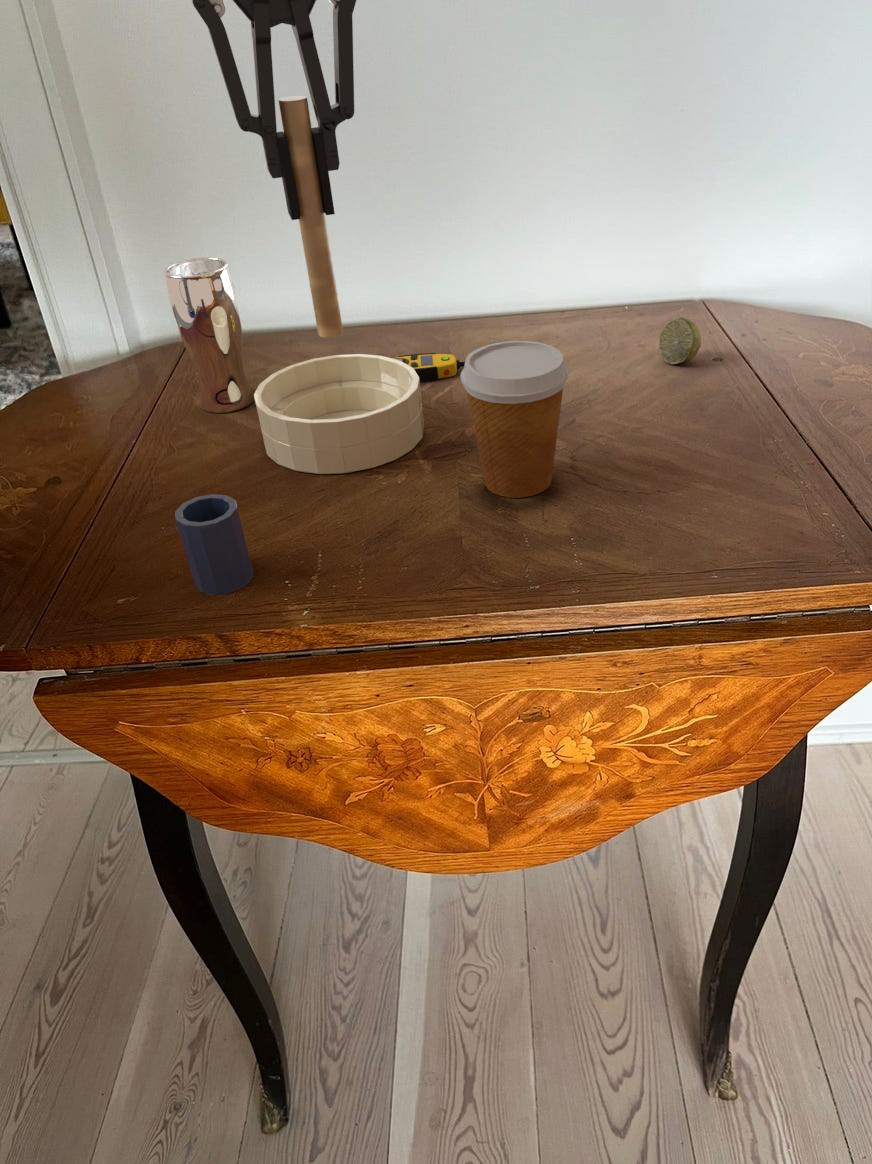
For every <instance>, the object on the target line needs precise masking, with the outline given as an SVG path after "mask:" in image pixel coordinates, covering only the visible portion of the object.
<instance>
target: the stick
mask: <svg viewBox="0 0 872 1164" xmlns="http://www.w3.org/2000/svg"><path fill="white" fill-rule="evenodd" d="M277 101H278V106H279V112H280V118H281V124H282V130H283V133H284V135H286V137H287V142H288V148H289V154H290V160H291V166H292V172H293V178H294V184H295V190H296V196H297V201H298V207H299V213H300V219H298V224H299V229H300V235H301V241H302V242H301V243H302V247H303V253H304V259H305V265H306V271H307V277H308V283H309V288H310V295H311V300H312V306H313V312H314V317H315V323H316V329H317V335H318V336H319V337H320V338H324V339H325V338H326V339H331V338H336V337H339V336H342V335H343V333H344V328H343V321H342V316H341V315H342V314H341V309H340V303H339V297H338V288H337V283H336V282H337V281H336V275H335V270H334V264H333V263H334V262H333V257H332V251H331V250H332V249H331V244H330V236H329V230H328V223H327V218H326V217H327V216H326V214H325V211H324V205H323V198H322V192H321V186H320V179H319V173H318V166H317V160H316V153H315V147H314V140H313V134H312V128H313V127H312V121H311V113H310V108H309V101H308V97H307V96H306V95H291V96H285V97H281V98H279V99H278V100H277Z"/></svg>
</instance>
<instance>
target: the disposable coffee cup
mask: <svg viewBox="0 0 872 1164" xmlns="http://www.w3.org/2000/svg"><path fill="white" fill-rule="evenodd" d="M464 362H465V365H464V367H463V369H462V370H461V372H460V382H461V384H462V385H463V387H464V390H465V392H467V398H468V403H469V409H470V412H471V418H472V423H473V427H474V433H475V438H476V443H477V447H478V453H479V458H480V463H481V468H482V474H483V479H484V485H485V486H486V488H487V489H488V491H490V492H491V493H492V494H495V495H497V496H501V497H505V498H515V499H516V498H528V497H532V496H535V495H538V494H541V493H542V492H544V491H546V490H547V489H548V488H550V486H551V484H552V480H553V479H552V478H553V470H554V462H555V453H556V447H557V440H558V439H557V438H558V430H559V424H560V423H559V422H560V416H561V407H562V402H563V401H562V400H563V392H564V391H563V390H564V388H565V386H566V383H567V381H568V379H569V374H570V370H569V367H568V366H567V364H566V362H565V358H564V355H563V353H562V352H561V351H560V349H558V348H556V347H555V346H553V345H550V344H547V343H544V342H538V341H531V340H507V341H506V340H505V341H500V342H495V343H491V344H488V345H484V346H483V345H482V346H481V347H478V348H476V349H475V350H473V351H471V352H470V353H468V355H467V356H466V358H465V360H464Z"/></svg>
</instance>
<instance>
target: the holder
mask: <svg viewBox="0 0 872 1164" xmlns="http://www.w3.org/2000/svg"><path fill="white" fill-rule="evenodd" d="M174 515H175V516H174V518H175V523H176V526H177V529H178V533H179V536H180V539H181V542H182V546H183V549H184V553H185V556H186V559H187V562H188V567H189V570H190V573H191V576H192V580H193V583H194V586H195V588H196V589H197V590H199V591H200V592H201V593H204V594H207V595H224V594H230V593H233V592H236V591H238V590H241V589H242V588H244V587H246V586H247V585H248V584H249V583H250V582H251V581H252V579H253V577H254V575H255V574H254V567H253V564H252V559H251V556H250V551H249V548H248V543H247V540H246V536H245V531H244V526H243V524H242V520H241V515H240V511H239V507H238V503H237V500H236V499H235V498H232V497H230V496H229V495H226V494H216V493H211V494H206V495H201V496H200V495H199V496H196V497H193V498H191V499H190V500H187V501H184V502H183V503H181V505H180V506H179V507H178V508H177V509H176V510H175V512H174Z"/></svg>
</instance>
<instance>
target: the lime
mask: <svg viewBox="0 0 872 1164" xmlns="http://www.w3.org/2000/svg"><path fill="white" fill-rule="evenodd" d="M658 340H659V341H658V342H659V343H658V350H659V354H660V356H661V358H662V360H663V361H664V362H666V363H668V364H670V365H681V364H684V363H687V362H689V361H692V359H694V358H695V356H696V355H698V353H699V350H700V348H701V346H702V335H701V332H700V329H699V327H698V325H697V324H696V323H695V322H694V321H692V320H691V319H689V318H687V317H684V316H678V317H675V318H673V319H670V320H669V321H668V322H667V323H666V324H665V326H664V327H663V329H662V330H661V332H660V334H659V339H658Z"/></svg>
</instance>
